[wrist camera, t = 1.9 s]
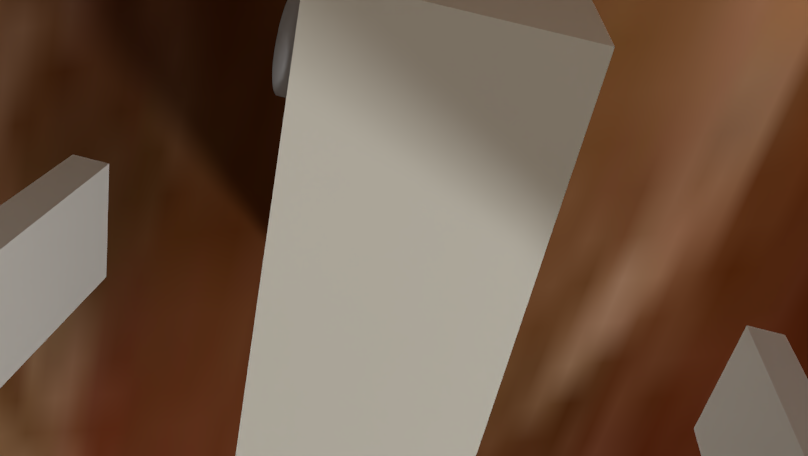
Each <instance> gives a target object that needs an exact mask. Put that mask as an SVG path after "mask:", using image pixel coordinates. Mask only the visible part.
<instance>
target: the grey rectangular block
mask: <svg viewBox="0 0 808 456" xmlns="http://www.w3.org/2000/svg"><path fill="white" fill-rule="evenodd" d="M614 47H615V46H614V44H613V42H612V40H611V38H610V36H609V34H608V32H607V30H606V28H605V26H604V24H603V22H602V20H601V18H600V16H599V14H598V12H597V10H596V8H595V5H594V3H593V1H592V0H287V2H286V5H285V8H284V11H283V14H282V17H281V21H280V25H279V29H278V33H277V38H276V44H275V50H274V57H273V68H272V83H273V90H274V93H275V95H277V96H280V97H284V98H286V103H285V110H284V117H283V124H282V131H281V138H280V145H279V152H278V159H277V166H276V174H275V181H274V188H273V195H272V202H271V209H270V216H269V223H268V230H267V237H266V244H265V251H264V258H263V265H262V272H261V279H260V287H259V294H258V301H257V308H256V315H255V322H254V329H253V336H252V343H251V350H250V357H249V364H248V371H247V378H246V385H245V392H244V400H243V407H242V414H241V421H240V428H239V435H238V442H237V449H236V456H476V454H477V451H478V448H479V445H480V442H481V439H482V436H483V433H484V431H485V428H486V425H487V422H488V419H489V416H490V413H491V410H492V407H493V404H494V401H495V398H496V395H497V392H498V389H499V386H500V383H501V380H502V377H503V375H504V372H505V369H506V366H507V363H508V360H509V357H510V354H511V351H512V348H513V345H514V342H515V339H516V336H517V333H518V330H519V327H520V324H521V322H522V319H523V316H524V313H525V310H526V307H527V304H528V301H529V298H530V295H531V292H532V289H533V286H534V283H535V280H536V277H537V274H538V271H539V268H540V266H541V263H542V260H543V257H544V254H545V251H546V248H547V245H548V242H549V239H550V236H551V233H552V230H553V227H554V224H555V221H556V218H557V215H558V212H559V210H560V207H561V204H562V201H563V198H564V195H565V192H566V189H567V186H568V183H569V180H570V177H571V174H572V171H573V168H574V165H575V162H576V159H577V156H578V154H579V151H580V148H581V145H582V142H583V139H584V136H585V133H586V130H587V127H588V124H589V121H590V118H591V115H592V112H593V109H594V106H595V103H596V100H597V98H598V95H599V92H600V89H601V86H602V83H603V80H604V77H605V74H606V71H607V68H608V65H609V62H610V59H611V56H612V53H613V50H614Z"/></svg>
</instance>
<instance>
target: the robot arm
mask: <svg viewBox="0 0 808 456" xmlns="http://www.w3.org/2000/svg"><path fill="white" fill-rule="evenodd" d="M108 187H109V164H108V163H104V162H100V161H96V160H92V159H88V158H85V157H81V156H77V155H72V156H70V157H69V158H67V159H66V160H64V161H63V162H62V163H60V164H59V165H57V166H56V167H55V168H53V169H52V170H50V171H49V172H47V173H46V174H45V175H43V176H42V177H40V178H39V179H37V180H36V181H35V182H33V183H32V184H30V185H29V186H28V187H26V188H25V189H23V190H22V191H20V192H19V193H18V194H16V195H15V196H13V197H12V198H11V199H9V200H8V201H6V202H5V203H3V204H2V205H1V206H0V388H1V387H2V386H3V385H4V383H5V382H6V381H7V380H8V379H9V378H10V377H11V376H12V375H13V374H14V373H15V372H16V371H17V370H18V369H19V368H20V367H21V366H22V365H23V364H24V363H25V361H26V360H27V359H28V358H29V357H30V356H31V355H32V354H33V353H34V352H35V351H36V350H37V349H38V348H39V347H40V346H41V345H42V344H43V343H44V342H45V340H46V339H47V338H48V337H49V336H50V335H51V334H52V333H53V332H54V331H55V330H56V329H57V328H58V327H59V326H60V325H61V324H62V323H63V322H64V321H65V319H66V318H67V317H68V316H69V315H70V314H71V313H72V312H73V311H74V310H75V309H76V308H77V307H78V306H79V305H80V304H81V303H82V302H83V301H84V300H85V298H86V297H87V296H88V295H89V294H90V293H91V292H92V291H93V290H94V289H95V288H96V287H97V286H98V285H99V284H100V283H101V282H102V281H103V280H104V279H105V278H106V265H107V226H108ZM694 431H695V435H696V438H697V442H698V445H699V449H700V453H701V456H808V379H807V377H806V375H805V373H804V371H803V369H802V367H801V365H800V363H799V361H798V359H797V357H796V355H795V354H794V352H793V350H792V348H791V346H790V344H789V342H788V340H787V338H786V336H785V335H782V334H778V333H775V332H771V331H767V330H763V329H759V328H755V327H751V326H746V328H745V330H744V332H743V334H742V336H741V338H740V340H739V342H738V344H737V346H736V348H735V350H734V351H733V353H732V355H731V357H730V359H729V361H728V363H727V365H726V367H725V369H724V371H723V373H722V375H721V377H720V379H719V381H718V383H717V385H716V386H715V388H714V390H713V392H712V394H711V396H710V398H709V400H708V402H707V404H706V406H705V408H704V410H703V412H702V414H701V416H700V418H699V420H698V422H697V423H696V425H695V427H694Z"/></svg>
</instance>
